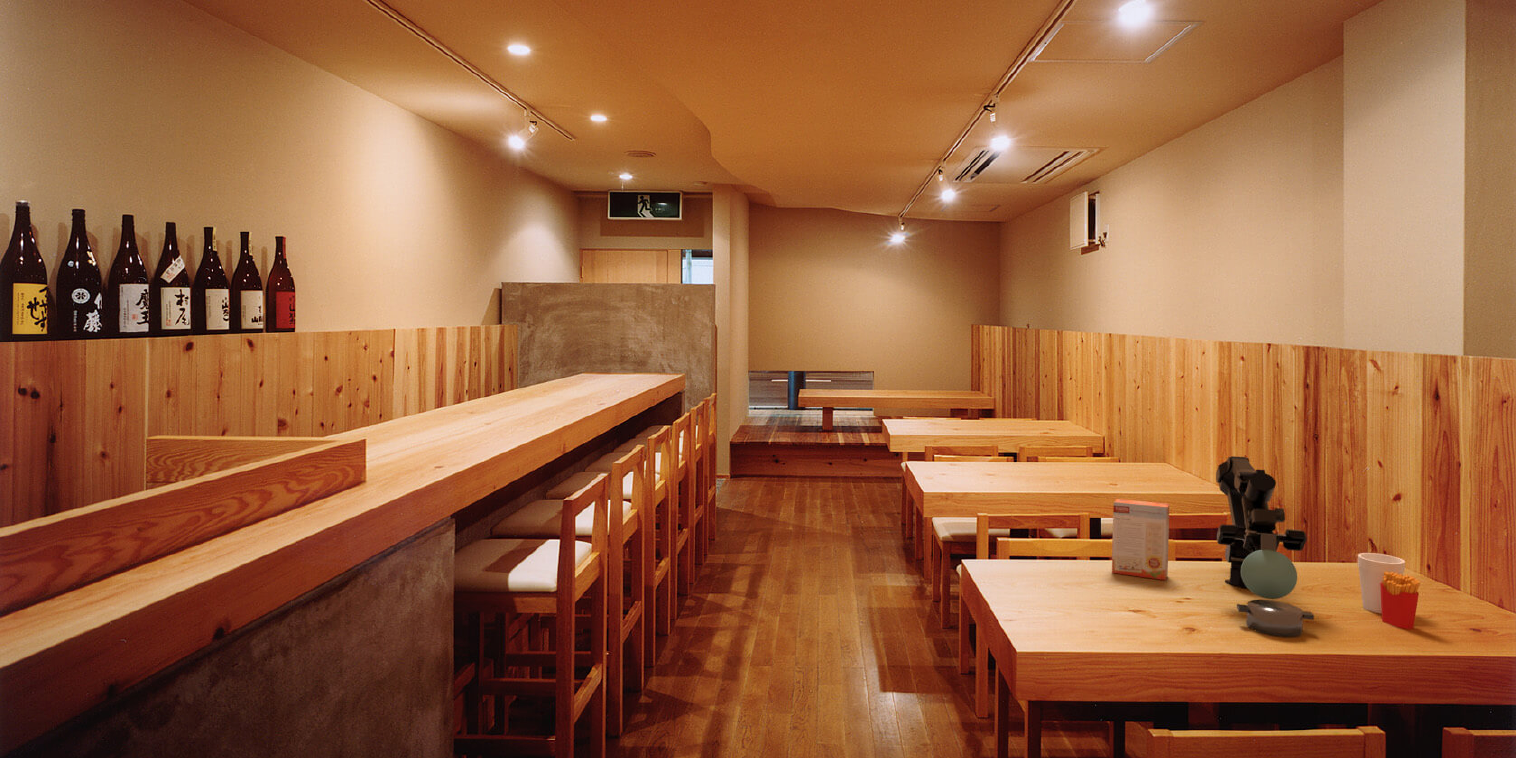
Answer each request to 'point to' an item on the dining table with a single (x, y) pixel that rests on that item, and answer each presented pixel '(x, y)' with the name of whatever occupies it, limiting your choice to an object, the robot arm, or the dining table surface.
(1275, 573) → the lid
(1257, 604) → the cooker pot
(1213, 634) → the dining table surface
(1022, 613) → the dining table surface
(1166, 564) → the cracker box
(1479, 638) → the dining table surface
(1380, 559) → the foam cup
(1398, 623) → the french fries
